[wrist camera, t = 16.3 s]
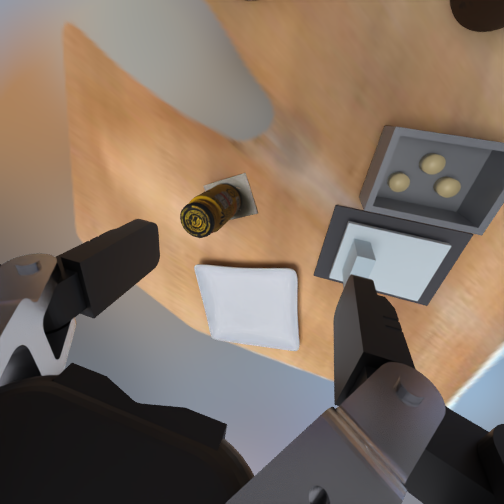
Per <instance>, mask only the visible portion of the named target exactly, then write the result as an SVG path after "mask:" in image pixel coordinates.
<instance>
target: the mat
mask: <svg viewBox="0 0 504 504" xmlns="http://www.w3.org/2000/svg"><path fill="white" fill-rule="evenodd" d="M348 221H351V222H356V223H360V224H365V225H369V226H374V227H378V228H383V229H387V230H392V231H396V232H401V233H405V234H410V235H414V236H419V237H423V238H428V239H432V240H437V241H441V242H446V243H449V244H450V245H451V248H450V249H449V251H448V253H447V254H446V256H445V258H444V259H443V261H442V262H441V264H440V266H439V267H438V269H437V271H436V272H435V274H434V275H433V277H432V279H431V280H430V282H429V283H428V285H427V287H426V288H425V290H424V292H423V293H422V295H421V296H420V298H419V300H418V301H414V300H410V299H407V298H403V297H399V296H395V295H392V294H388V293H384V292H380V291H377V290H376V292H377V293H381V294H384V295H388V296H392V297H396V298H399V299H403V300H407V301H411V302H415V303H418V304H422V305H426V306H427V305H428V304H429V302H430V301H431V299H432V298H433V296H434V294H435V293H436V291H437V290H438V288H439V287H440V285H441V284H442V282H443V281H444V279H445V277H446V276H447V274H448V273H449V271H450V270H451V268H452V267H453V265H454V264H455V262H456V261H457V259H458V257H459V256H460V254H461V253H462V251H463V250H464V248H465V247H466V245H467V244H468V242H469V240H470V239H471V237H472V236H473V234H471V233H467V232H462V231H457V230H452V229H448V228H443V227H438V226H433V225H429V224H424V223H419V222H415V221H410V220H405V219H400V218H396V217H391V216H386V215H381V214H377V213H372V212H367V211H363V210H358V209H353V208H348V207H344V206H339V205H336V206H335V209H334V212H333V215H332V218H331V222H330V225H329V228H328V231H327V234H326V237H325V241H324V244H323V247H322V250H321V253H320V256H319V260H318V263H317V266H316V269H315V272H314V276H317V277H321V278H324V279H328V280H332V281H336V282H339V283H343V281H339V280H335V279H331V278H329V274H330V271H331V269H332V266H333V263H334V260H335V257H336V255H337V252H338V249H339V246H340V243H341V241H342V238H343V235H344V232H345V229H346V226H347V224H348Z"/></svg>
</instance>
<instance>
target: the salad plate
mask: <svg viewBox="0 0 504 504" xmlns="http://www.w3.org/2000/svg"><path fill="white" fill-rule="evenodd" d="M194 269H195V273H196V277H197V281H198V285H199V288H200V292H201V296H202V300H203V304H204V308H205V312H206V316H207V321H208V325H209V330H210V333H211V336H212V338H213V339H216V340H221V341H227V342H233V343H240V344H247V345H255V346H262V347H269V348H276V349H282V350H290V351H297V350H298V349H299V330H298V311H297V293H298V280H297V274H296V272H295V270H293V269H291V268H238V267H225V266H215V265H203V264H198V265H195V267H194Z"/></svg>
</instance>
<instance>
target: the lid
mask: <svg viewBox="0 0 504 504" xmlns="http://www.w3.org/2000/svg"><path fill="white" fill-rule="evenodd" d="M450 248H451V245H450V244H449V243H446V242H441V241H437V240H432V239H428V238H423V237H419V236H414V235H410V234H405V233H401V232H396V231H392V230H387V229H383V228H378V227H374V226H369V225H365V224H360V223H356V222H351V221H348V224H347V226H346V229H345V232H344V235H343V238H342V241H341V243H340V246H339V249H338V252H337V255H336V257H335V260H334V263H333V266H332V269H331V271H330V274H329V278H331V279H335V280H339V281H343V287H345V285H346V282H347V280H348V278H349V276H350V275H351V274H353V275H356V276H360V277H364V278H368V279H372V280H373V281H374V285H375V289H376V290H377V291H380V292H384V293H388V294H392V295H395V296H399V297H403V298H407V299H410V300H414V301H418V300H419V298H420V296H421V295H422V293H423V292H424V290H425V288H426V287H427V285H428V283H429V282H430V280H431V279H432V277H433V275H434V274H435V272H436V271H437V269H438V267H439V266H440V264H441V262H442V261H443V259H444V258H445V256H446V254H447V253H448V251H449V249H450Z"/></svg>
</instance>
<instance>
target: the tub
mask: <svg viewBox="0 0 504 504" xmlns="http://www.w3.org/2000/svg"><path fill="white" fill-rule="evenodd" d="M359 198H360V201H361V204H362V206H363V209H364V211H369V212H374V213H379V214H383V215H388V216H393V217H397V218H402V219H407V220H412V221H416V222H421V223H426V224H431V225H435V226H440V227H445V228H449V229H454V230H459V231H464V232H468V233H473V234H478V235H483V233H484V232H485V230H486V229H487V227H488V226H489V224H490V223H491V221H492V220H493V218H494V217H495V215H496V214H497V212H498V211H499V209H500V208H501V206H502V205H503V203H504V143H501V142H495V141H488V140H481V139H475V138H468V137H461V136H455V135H448V134H441V133H435V132H428V131H421V130H415V129H408V128H401V127H394V126H384V128H383V131H382V134H381V137H380V140H379V142H378V145H377V148H376V151H375V154H374V156H373V159H372V162H371V165H370V167H369V170H368V173H367V176H366V179H365V181H364V184H363V187H362V190H361V193H360V195H359Z"/></svg>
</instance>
